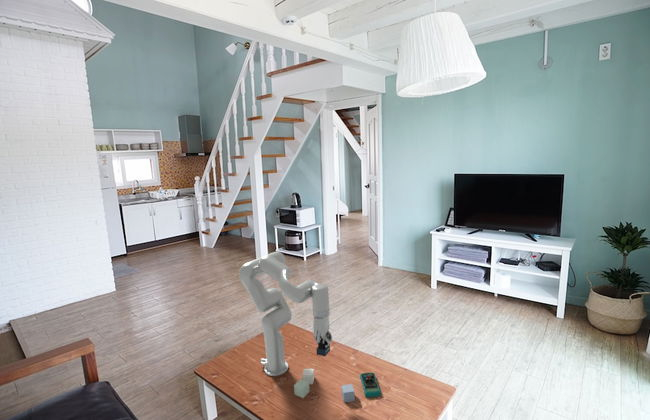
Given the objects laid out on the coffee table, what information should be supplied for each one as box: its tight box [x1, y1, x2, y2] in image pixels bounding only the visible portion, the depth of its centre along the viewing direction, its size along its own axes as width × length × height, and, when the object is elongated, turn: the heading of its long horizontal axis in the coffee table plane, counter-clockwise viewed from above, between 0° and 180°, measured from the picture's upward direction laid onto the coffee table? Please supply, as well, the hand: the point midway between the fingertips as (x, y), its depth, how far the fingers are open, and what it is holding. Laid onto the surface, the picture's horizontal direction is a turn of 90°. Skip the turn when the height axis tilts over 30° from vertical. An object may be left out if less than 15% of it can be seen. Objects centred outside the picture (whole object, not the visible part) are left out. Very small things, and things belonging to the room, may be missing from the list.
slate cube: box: [341, 383, 356, 403], centre depth 157 cm, size 5×5×5 cm
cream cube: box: [301, 368, 315, 385], centre depth 170 cm, size 5×5×5 cm
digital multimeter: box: [359, 372, 382, 398], centre depth 164 cm, size 7×15×3 cm, turn 4°
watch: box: [314, 330, 333, 357], centre depth 159 cm, size 6×8×11 cm
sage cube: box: [293, 378, 310, 399], centre depth 161 cm, size 5×5×5 cm
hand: (323, 347), depth 159 cm, fingers closed on watch, 3 cm apart
